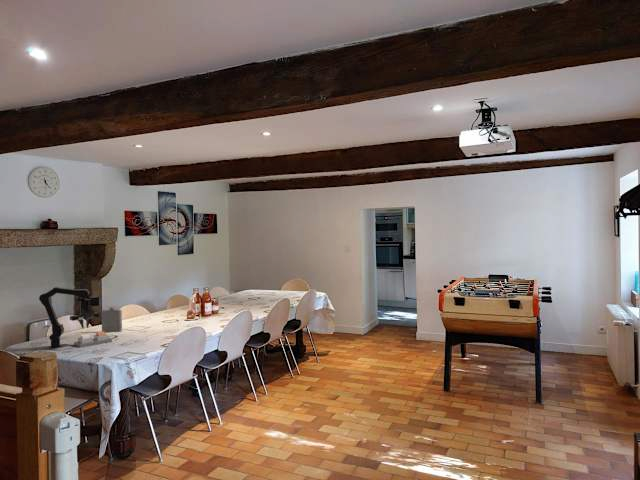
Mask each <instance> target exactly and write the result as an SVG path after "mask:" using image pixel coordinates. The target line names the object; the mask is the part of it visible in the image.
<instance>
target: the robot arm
mask: <svg viewBox="0 0 640 480" xmlns="http://www.w3.org/2000/svg"><path fill="white" fill-rule="evenodd" d="M56 294H61V295H71V296H75V297H78V299H76V302H79V307H80V308H79V310H80V312H79V315H76V314H74V315H70V316H69V320H70V321H73V322H74V321H78V322H79V324H80V326H81V329H83V330H84V328H85V327H84V319H86V322H85V323H86V328H87V329H88V328H89V325H90V323H91V321H92V320H93V319H94V318H99V317H100V316H101V315H100V313H99V312H98V311H97V312H96V311H95V310H91V308H90V307H100V306H101V301H102V300H101V297H100V296H93V295H91V293H90V290H89V289H87V288H82V289H81V288H80V289H74V288H64V287H58V286H56V287H53V288H52V289H50V290H48V291H47V292H44V293H42V294H40V295H39V296H38V297H39V298H38V300H39V301H40V303H41V304H42V305H43V306H44V308H45V311H46V313H47V316H48V318H49V321H50V324H51V332H52V333H51V334H50V335H49V336H48V338H49V340H50V345H49V346H48V347H49V348H51V349H55V348H62V347H63V346H62V344H61V337H62V335H63V334H64V332H65V327H64V324H63V323H60V322H59V320H58V317H57V314H56V313H55V309H54V307H53V304H52V301H53V299H52V297H53V296H54V295H56Z"/></svg>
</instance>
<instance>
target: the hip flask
mask: <svg viewBox="0 0 640 480" xmlns="http://www.w3.org/2000/svg"><path fill="white" fill-rule="evenodd" d="M100 312H101V332H106V333H114V332H115V333H120V332H123V317H122V316H123V315H122V314H123V311H122V309H115V307H114V306H112V307H111V306H110V307H109V309H106V310H105V309H104V310H101V311H100Z"/></svg>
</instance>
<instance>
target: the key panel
mask: <svg viewBox="0 0 640 480" xmlns="http://www.w3.org/2000/svg"><path fill="white" fill-rule="evenodd" d="M112 342H113V339H112V338H110V337H109V334H107V333H106V335H104V336H96V334H94V335H93V337H92V336H90V338H87V339H81V338H80V337H78V338H77V341H74V342H73V344H74V346H75V347H78V348H85V347H92V346H96V345H102V344H103V345H104V344H107V343H112Z"/></svg>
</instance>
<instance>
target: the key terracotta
mask: <svg viewBox="0 0 640 480" xmlns="http://www.w3.org/2000/svg"><path fill="white" fill-rule="evenodd" d="M106 334H107V332H102V331H96V332H95V335H96V336H104V335H106Z"/></svg>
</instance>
